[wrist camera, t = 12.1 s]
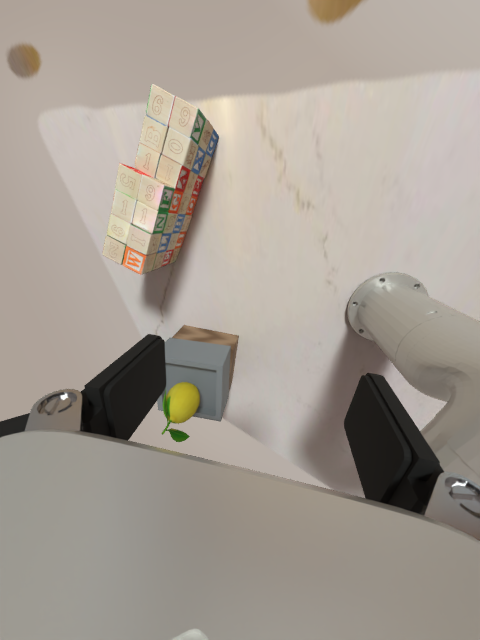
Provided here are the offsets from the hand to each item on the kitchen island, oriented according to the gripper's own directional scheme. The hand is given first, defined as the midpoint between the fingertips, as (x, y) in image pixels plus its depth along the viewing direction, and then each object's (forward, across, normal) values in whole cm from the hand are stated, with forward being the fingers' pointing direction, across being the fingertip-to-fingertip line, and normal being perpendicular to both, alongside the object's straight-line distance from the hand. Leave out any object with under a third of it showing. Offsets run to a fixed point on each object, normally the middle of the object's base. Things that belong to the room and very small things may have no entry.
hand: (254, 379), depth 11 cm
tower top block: (+27, +12, +21) cm, 36 cm away
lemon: (+22, +11, +21) cm, 32 cm away
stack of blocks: (+33, +18, -9) cm, 39 cm away
